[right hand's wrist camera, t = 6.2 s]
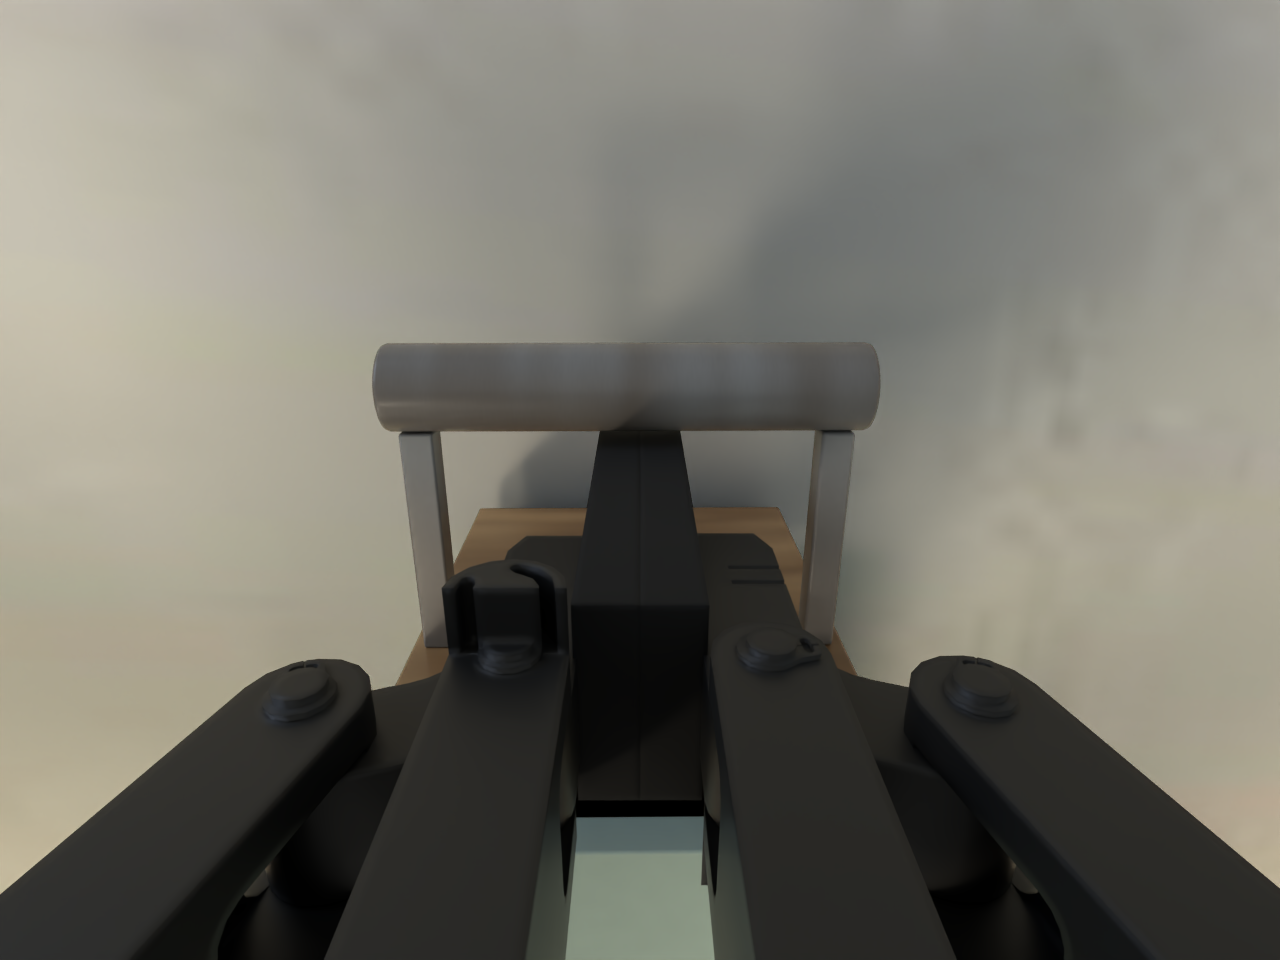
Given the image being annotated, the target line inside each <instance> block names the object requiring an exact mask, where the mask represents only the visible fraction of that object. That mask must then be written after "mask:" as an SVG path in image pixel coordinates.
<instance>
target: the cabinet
mask: <svg viewBox="0 0 1280 960" xmlns="http://www.w3.org/2000/svg"><path fill="white" fill-rule="evenodd" d="M576 825H577V842H576V852H575V863H574V874H573V884H572V895H571V906H570V916H569V927H568V937H567V948H566V959H565V960H715V958H714V947H713V936H712V926H711V915H710V904H709V894H708V885H701V873H702V849H703V825H704V816H693V817H576Z"/></svg>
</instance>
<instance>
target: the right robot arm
mask: <svg viewBox="0 0 1280 960" xmlns="http://www.w3.org/2000/svg"><path fill="white" fill-rule="evenodd" d="M441 589H442V598H443V607H444V616H445V625H446V634H447V643H448V652H449V655H448V658H447V660H446V662H445V665H444V667H443V670H442V672H440V673H438V674H435V675H433V676H431V677H428V678H425V679H422V680H418V681H414V682H411V683H407V684H402V685H397V686H392V687H387V688H382V689H377V690H371V684H370V678H369V676H368V674H367V673H366V672H365V671H364V670H363V669H362V668H361V667H360V666H359V665H356V664H353V663H350V662H347V661H344V660H337V659H315V660H307V661H305V662H303V661H301V662H297V663H293V664H290V665H288V666H285V667H283V668H280V669H278V670H275V671H272V672H270V673H267V674H265V675H264V676H262V677H261V678H259V679H258V680H256V681H255V682H253V683H252V684H250V685H249V686H247V687H245V688H244V689H243V690H242V691H241V692H240V693H238V694H237V695H236V696H235V697H234V698H232V699H231V700H230V701H229V702H228V703H226V704H225V705H224V706H223V707H222V708H221V709H219V710H218V711H217V712H216V713H215V714H213V715H212V716H211V717H210V718H209V719H208V720H206V721H205V722H204V723H203V724H202V725H200V726H199V727H198V728H197V729H196V730H195V731H193V732H192V733H191V734H190V735H189V736H187V737H186V738H185V739H184V740H183V741H181V742H180V743H179V744H178V745H177V746H176V747H174V748H173V749H172V750H171V751H170V752H168V753H167V754H166V755H165V756H164V757H163V758H161V759H160V760H159V761H158V762H157V763H155V764H154V765H153V766H152V767H151V768H150V769H148V770H147V771H146V772H145V773H144V774H142V775H141V776H140V777H139V778H138V779H136V780H135V781H134V782H133V783H132V784H131V785H129V786H128V787H127V788H126V789H125V790H123V791H122V792H121V793H120V794H119V795H118V796H116V797H115V798H114V799H113V800H112V801H110V802H109V803H108V804H107V805H106V806H105V807H103V808H102V809H101V810H100V811H99V812H97V813H96V814H95V815H94V816H93V817H91V818H90V819H89V820H88V821H87V822H86V823H84V824H83V825H82V826H81V827H80V828H78V829H77V830H76V831H75V832H74V833H73V834H71V835H70V836H69V837H68V838H67V839H65V840H64V841H63V842H62V843H61V844H60V845H58V846H57V847H56V848H55V849H54V850H52V851H51V852H50V853H49V854H48V855H46V856H45V857H44V858H43V859H42V860H41V861H39V862H38V863H37V864H36V865H35V866H33V867H32V868H31V869H30V870H29V871H28V872H26V873H25V874H24V875H23V876H22V877H20V878H19V879H18V880H17V881H16V882H15V883H13V884H12V885H11V886H10V887H9V888H7V889H6V890H5V891H4V892H3V893H2V894H0V960H565V959H566V948H567V937H568V927H569V916H570V906H571V895H572V884H573V874H574V863H575V852H576V842H577V825H576V795H577V785H578V800H702V782H703V791H704V825H703V849H702V873H701V885H708V894H709V904H710V915H711V926H712V936H713V947H714V958H715V960H1280V888H1279V887H1277V886H1276V885H1275V884H1274V883H1273V882H1271V881H1270V880H1269V879H1268V878H1267V877H1265V876H1264V875H1263V874H1262V873H1261V872H1259V871H1258V870H1257V869H1256V868H1255V867H1253V866H1252V865H1251V864H1250V863H1249V862H1248V861H1246V860H1245V859H1244V858H1243V857H1242V856H1240V855H1239V854H1238V853H1237V852H1236V851H1234V850H1233V849H1232V848H1231V847H1230V846H1228V845H1227V844H1226V843H1225V842H1224V841H1222V840H1221V839H1220V838H1219V837H1218V836H1216V835H1215V834H1214V833H1213V832H1212V831H1210V830H1209V829H1208V828H1207V827H1206V826H1205V825H1203V824H1202V823H1201V822H1200V821H1199V820H1197V819H1196V818H1195V817H1194V816H1193V815H1191V814H1190V813H1189V812H1188V811H1187V810H1185V809H1184V808H1183V807H1182V806H1181V805H1179V804H1178V803H1177V802H1176V801H1175V800H1173V799H1172V798H1171V797H1170V796H1169V795H1167V794H1166V793H1165V792H1164V791H1163V790H1162V789H1160V788H1159V787H1158V786H1157V785H1156V784H1154V783H1153V782H1152V781H1151V780H1150V779H1148V778H1147V777H1146V776H1145V775H1144V774H1142V773H1141V772H1140V771H1139V770H1138V769H1136V768H1135V767H1134V766H1133V765H1132V764H1130V763H1129V762H1128V761H1127V760H1126V759H1124V758H1123V757H1122V756H1121V755H1120V754H1119V753H1117V752H1116V751H1115V750H1114V749H1113V748H1111V747H1110V746H1109V745H1108V744H1107V743H1105V742H1104V741H1103V740H1102V739H1101V738H1099V737H1098V736H1097V735H1096V734H1095V733H1093V732H1092V731H1091V730H1090V729H1089V728H1087V727H1086V726H1085V725H1084V724H1083V723H1081V722H1080V721H1079V720H1078V719H1077V718H1076V717H1074V716H1073V715H1072V714H1071V713H1070V712H1068V711H1067V710H1066V709H1065V708H1064V707H1062V706H1061V705H1060V704H1059V703H1058V702H1056V701H1055V700H1054V699H1053V698H1052V697H1050V696H1049V695H1048V694H1047V693H1046V692H1044V691H1043V690H1042V689H1041V688H1040V687H1038V686H1037V685H1036V684H1035V683H1033V682H1032V681H1030V680H1029V679H1027V678H1025V677H1024V676H1022V675H1021V674H1019V673H1018V672H1016V671H1015V670H1012V669H1010V668H1007V667H1004V666H1002V665H999V664H997V663H994V662H992V661H990V660H986V659H982V658H974V657H970V656H939V657H936V658H933V659H929V660H926V661H923V662H921V663H920V664H919V665H918V666H917V667H916V668H915V669H914V671H913V672H912V673H911V678H910V684H909V687H904V686H899V685H894V684H890V683H885V682H880V681H875V680H870V679H867V678H863V677H859V676H856V675H852V674H850V673H848V672H845V671H843V670H841V669H838V668H837V666H836V664H835V661H834V659H833V657H832V654H831V653H830V651H829V650H828V649H827V647H826V646H825V645H824V643H823V642H822V641H821V640H820V639H818V638H817V637H815V636H814V635H812V634H810V633H809V632H807V631H806V630H804V629H802V626H801V623H800V621H799V618H798V615H797V613H796V610H795V607H794V605H793V602H792V599H791V597H790V594H789V591H788V589H787V586H786V584H784V578H783V575H782V572H781V570H780V569H779V564H778V562H777V559H776V556H775V554H774V551H773V548H772V547H770V546H769V545H768V544H767V543H765V542H764V541H763V540H761V539H760V538H759V537H758V536H756V535H755V534H754V533H697V529H696V523H695V517H694V511H693V505H692V499H691V493H690V487H689V481H688V475H687V469H686V463H685V457H684V451H683V446H682V440H681V434H680V431H600V434H599V440H598V446H597V452H596V457H595V463H594V469H593V475H592V481H591V487H590V493H589V499H588V505H587V511H586V517H585V523H584V529H583V535H582V536H526V537H524V538H523V539H522V540H521V541H519V542H518V543H517V544H516V545H514V546H513V547H512V548H511V549H509V550H508V551H507V554H506V557H505V559H504V560H498V561H490V562H486V563H482V564H479V565H475V566H472V567H469V568H467V569H465V570H463V571H461V572H459V573H457V574H456V575H454V576H452V577H451V578H450V579H449V580H448V581H447V582H446V584H445V585H444V586H443V587H442V588H441Z"/></svg>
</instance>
